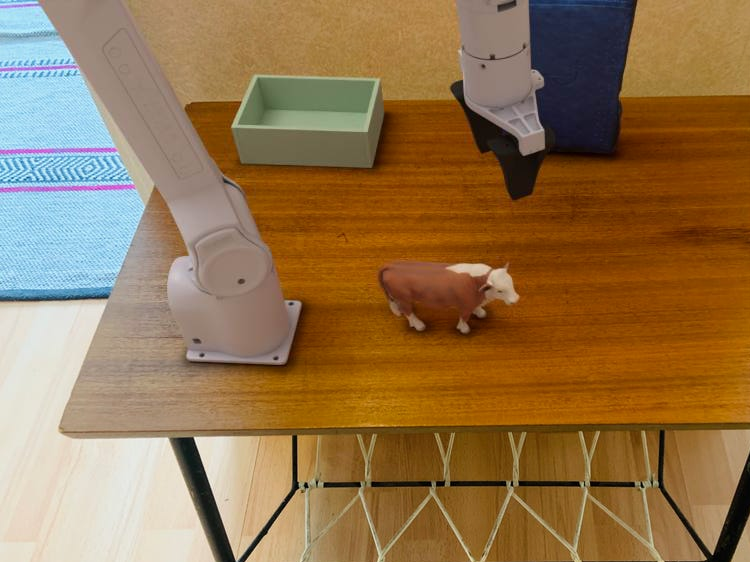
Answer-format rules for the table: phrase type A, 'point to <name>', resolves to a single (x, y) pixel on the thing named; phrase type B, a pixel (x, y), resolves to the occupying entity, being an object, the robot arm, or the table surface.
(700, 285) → the table surface
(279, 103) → the bin
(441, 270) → the bull figurine
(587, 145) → the book
